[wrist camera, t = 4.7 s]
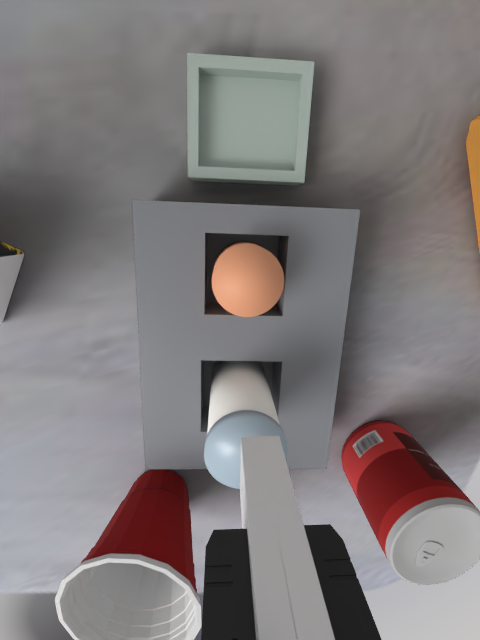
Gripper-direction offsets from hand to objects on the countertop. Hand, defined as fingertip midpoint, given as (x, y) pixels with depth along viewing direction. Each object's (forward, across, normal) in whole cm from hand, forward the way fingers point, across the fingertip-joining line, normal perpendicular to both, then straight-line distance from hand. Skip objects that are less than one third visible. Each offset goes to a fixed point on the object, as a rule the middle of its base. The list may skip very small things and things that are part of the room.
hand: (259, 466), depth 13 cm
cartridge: (+17, 0, -4) cm, 18 cm away
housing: (+18, 0, 0) cm, 18 cm away
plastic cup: (+19, -8, -18) cm, 27 cm away
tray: (+18, +1, +17) cm, 25 cm away
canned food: (+18, +15, -14) cm, 27 cm away
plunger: (+17, 0, +6) cm, 18 cm away
